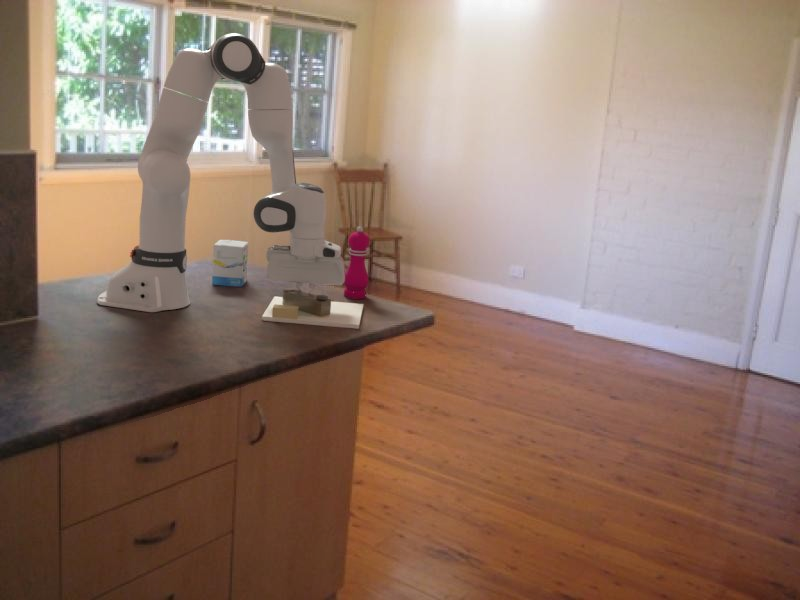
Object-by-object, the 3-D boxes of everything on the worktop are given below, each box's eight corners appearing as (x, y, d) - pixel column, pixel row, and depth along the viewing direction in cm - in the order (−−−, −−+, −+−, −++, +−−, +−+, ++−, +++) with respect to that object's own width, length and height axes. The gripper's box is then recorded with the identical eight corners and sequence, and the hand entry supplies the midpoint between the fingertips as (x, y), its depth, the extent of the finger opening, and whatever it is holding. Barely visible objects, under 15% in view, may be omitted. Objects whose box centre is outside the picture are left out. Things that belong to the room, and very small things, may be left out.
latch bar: (330, 314, 222) (331, 296, 221) (320, 316, 219) (321, 298, 218) (289, 301, 230) (290, 284, 229) (279, 303, 227) (280, 286, 226)
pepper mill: (364, 300, 243) (369, 229, 238) (339, 297, 244) (344, 226, 239) (370, 295, 250) (375, 225, 244) (345, 291, 251) (350, 222, 246)
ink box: (241, 287, 245) (243, 246, 242) (211, 285, 245) (212, 244, 242) (247, 280, 254) (249, 241, 251) (218, 278, 253) (219, 238, 251)
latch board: (261, 320, 216) (262, 306, 215) (274, 299, 235) (275, 287, 235) (358, 328, 216) (359, 315, 215) (363, 307, 236) (364, 295, 235)
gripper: (264, 246, 222) (263, 299, 225) (345, 252, 222) (342, 304, 226) (268, 242, 228) (267, 293, 231) (347, 247, 228) (344, 298, 232)
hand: (305, 299), depth 228 cm, fingers closed
